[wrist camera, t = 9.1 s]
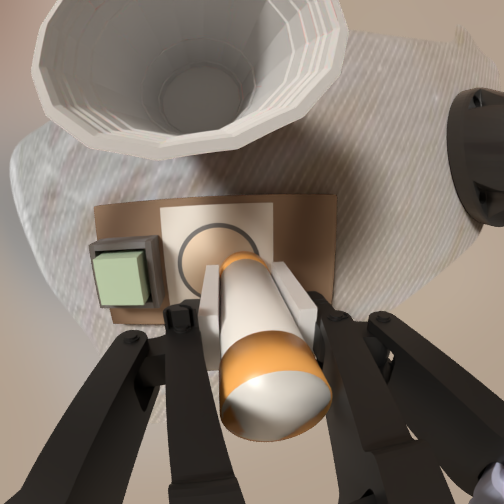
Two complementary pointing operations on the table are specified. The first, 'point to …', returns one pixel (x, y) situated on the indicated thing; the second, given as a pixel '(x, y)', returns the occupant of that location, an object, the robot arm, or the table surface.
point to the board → (217, 242)
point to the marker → (264, 358)
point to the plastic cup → (184, 70)
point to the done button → (122, 277)
